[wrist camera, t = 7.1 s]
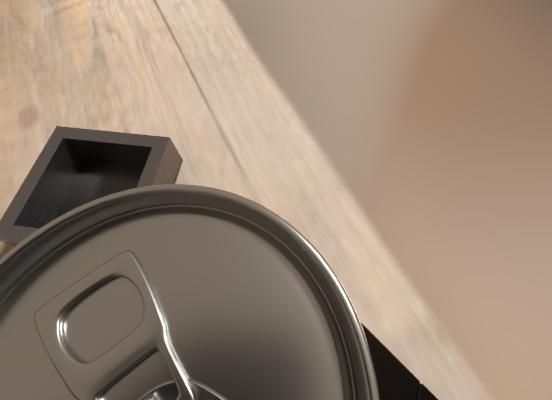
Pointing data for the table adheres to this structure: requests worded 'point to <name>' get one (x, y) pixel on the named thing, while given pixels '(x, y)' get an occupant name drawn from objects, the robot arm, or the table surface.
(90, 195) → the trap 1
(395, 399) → the robot arm
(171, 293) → the can
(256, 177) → the table surface
